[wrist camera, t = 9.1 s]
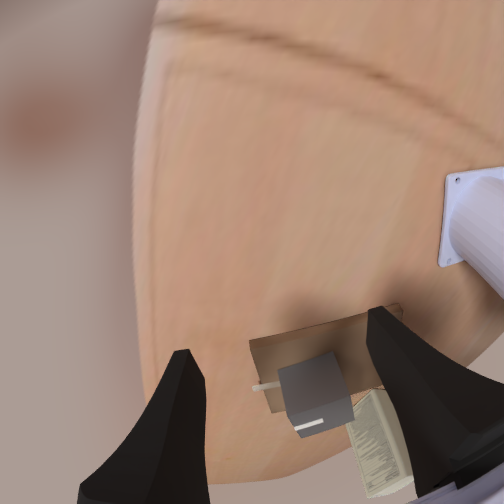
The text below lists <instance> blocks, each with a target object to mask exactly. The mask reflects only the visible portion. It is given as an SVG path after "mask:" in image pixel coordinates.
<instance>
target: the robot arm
mask: <svg viewBox="0 0 504 504" xmlns="http://www.w3.org/2000/svg"><path fill="white" fill-rule="evenodd" d="M456 178H457V181H456ZM455 181H456V182H455ZM464 260H465V261H466V262H468V263H469V264H470V265H471V266H472V267H473V268H474V269H475V270H476V271H477V272H478V273H479V274H480V275H481V276H482V277H483V278H484V279H485V280H486V281H487V283H488V284H489V285H490V286H491V287H492V288H493V289H494V290H495V291H496V292H497V293H498V294H499V295H500V296H501V297H502V298H503V300H504V166H502V167H494V168H486V169H479V170H472V171H465V172H458V173H451V174H449V175H448V176H447V177H446V181H445V199H444V213H443V224H442V233H441V242H440V250H439V257H438V265H439V266H440V267H446V266H449V265H452V264H455V263H458V262H461V261H464ZM366 345H367V348H368V351H369V354H370V357H371V360H372V363H373V365H374V367H375V369H376V371H377V373H378V375H379V377H380V379H381V382H382V384H383V386H384V388H385V390H386V392H387V394H388V396H389V398H390V400H391V402H392V404H393V406H394V409H395V411H396V414H397V417H398V420H399V423H400V426H401V429H402V432H403V436H404V439H405V443H406V446H407V450H408V454H409V458H410V463H411V467H412V472H413V477H414V483H415V489H416V494H417V496H418V499H416V500H413V501H411V502H409V503H406V504H504V384H502V383H500V382H497V381H494V380H492V379H489V378H486V377H484V376H482V375H479V374H478V373H476V372H473V371H471V370H469V369H467V368H465V367H463V366H461V365H460V364H458V363H456V362H454V361H453V360H451V359H450V358H448V357H446V356H445V355H443V354H442V353H440V352H439V351H437V350H436V349H435V348H433V347H432V346H430V345H429V344H428V343H426V342H425V341H424V340H422V339H421V338H420V337H419V336H417V335H416V334H415V333H414V332H412V331H411V330H410V329H409V328H408V327H406V326H405V325H404V324H403V323H402V322H401V321H399V320H398V319H397V318H396V317H395V316H394V315H392V314H391V313H390V312H389V311H388V310H387V309H386V308H384V307H383V306H379V307H376V308H372V309H369V310H368V320H367V334H366ZM205 422H206V388H205V378H204V376H203V374H202V373H201V371H200V369H199V367H198V365H197V363H196V361H195V360H194V358H193V356H192V354H191V352H190V350H189V349H184V350H178V351H174V353H173V355H172V357H171V359H170V361H169V363H168V365H167V368H166V370H165V372H164V374H163V376H162V378H161V380H160V382H159V384H158V386H157V388H156V390H155V392H154V394H153V396H152V398H151V400H150V401H149V403H148V405H147V407H146V408H145V410H144V412H143V414H142V415H141V417H140V418H139V420H138V421H137V423H136V425H135V426H134V428H133V429H132V430H131V432H130V433H129V434H128V436H127V437H126V439H125V440H124V441H123V442H122V444H121V445H120V446H119V447H118V448H117V450H116V451H115V452H114V453H113V454H112V455H111V456H110V457H109V458H108V459H107V460H106V461H105V462H104V463H103V465H101V467H99V468H98V469H97V470H96V471H95V472H94V473H93V474H91V475H90V476H89V477H88V478H87V479H86V480H84V481H83V482H82V483H81V484H80V487H79V493H78V500H77V504H210V498H209V492H208V484H207V476H206V466H205V448H204V446H205Z"/></svg>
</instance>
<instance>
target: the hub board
mask: <svg viewBox="0 0 504 504" xmlns="http://www.w3.org/2000/svg"><path fill="white" fill-rule="evenodd" d="M384 308H386V309H387V310H388V311H389V312H390V313H391V314H392V315H394V316H395V317H396V318H397V319H398V320H399V321H401V320H402V314H403V310H402V308H401V307H400V305H399V304H398V303H397V304H394V305H390V306H387V307H384ZM367 320H368V312H366V313H363V314H359V315H355V316H352V317H348V318H344V319H340V320H337V321H333V322H329V323H325V324H321V325H317V326H313V327H309V328H304V329H300V330H296V331H291V332H287V333H282V334H278V335H273V336H268V337H264V338H259V339H254V340H249V344H250V351H251V354H252V357H253V360H254V363H255V366H256V369H257V372H258V375H259V378H260V381H261V385H255V386H252V388H253V391H259V390H264V393H265V396H266V399H267V402H268V404H269V407H270V410H271V413H277V412H282V411H286V408H285V404H284V399H283V394H282V390H281V385H280V381H279V376H278V372H277V370H280V369H283V368H286V367H289V366H292V365H295V364H298V363H301V362H304V361H307V360H309V359H312V358H315V357H318V356H321V355H323V354H326V353H329V352H331V351H333V353H334V355H335V358H336V360H337V363H338V365H339V368H340V370H341V373H342V375H343V378H344V381H345V383H346V386H347V388H348V391H349V393H350V395H352V394H355V393H358V392H362V391H365V390H368V389H371V388H374V387H378V386H381V385H383V384H382V382H381V379H380V377H379V375H378V373H377V371H376V369H375V367H374V365H373V363H372V360H371V357H370V354H369V351H368V348H367V345H366V334H367Z"/></svg>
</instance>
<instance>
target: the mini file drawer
mask: <svg viewBox="0 0 504 504" xmlns="http://www.w3.org/2000/svg"><path fill="white" fill-rule="evenodd" d="M277 372H278V376H279V381H280V385H281V390H282V394H283V399H284V404H285V408H286V413H287V417H288V418H289V420H290V422H291V423H292V425H293V426H294V429H295V430H296V431H297V433H298V434H299V436H300V437H301V438H304V437H308V436H311V435H314V434H317V433H320V432H323V431H326V430H329V429H332V428H335V427H338V426H341V425H344V424H346V423H349V422H352V421H354V420H355V417H354V412H353V407H352V402H351V397H350V393H349V391H348V388H347V386H346V383H345V381H344V378H343V375H342V373H341V370H340V368H339V365H338V363H337V360H336V358H335V355H334V353H333V351H331V352H329V353H326V354H323V355H321V356H318V357H315V358H312V359H309V360H307V361H304V362H301V363H298V364H295V365H292V366H289V367H286V368H283V369H280V370H277Z"/></svg>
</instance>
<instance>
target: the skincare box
mask: <svg viewBox="0 0 504 504" xmlns="http://www.w3.org/2000/svg"><path fill="white" fill-rule="evenodd" d="M353 412H354V417H355V420H354V421H352V422H349V423H346V424H345V425H346V428H347V431H348V435H349V438H350V441H351V445H352V448H353V451H354V454H355V458H356V461H357V465H358V468H359V472H360V475H361V478H362V482H363V486H364V489H365V493H366V496H367V499H368V498H373V497H378V496H383V495H387V494H392V493H394V492H396V491H397V490H399V489H401V488H403V487H404V486H406V485H408V484H410V483H411V482H413V481H414V477H413V472H412V467H411V463H410V458H409V454H408V450H407V446H406V443H405V439H404V436H403V432H402V429H401V426H400V423H399V420H398V417H397V414H396V411H395V409H394V406H393V404H392V402H391V400H390V398H389V396H388V394H387V392H386V390H382V389H372V390H371V391H370V392H369V393H368V394H367V395H365V396H364V397H363V398H362V399H361V400H360V401H359V402H358V403H357V404H356V405H355V406H354V407H353Z"/></svg>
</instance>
